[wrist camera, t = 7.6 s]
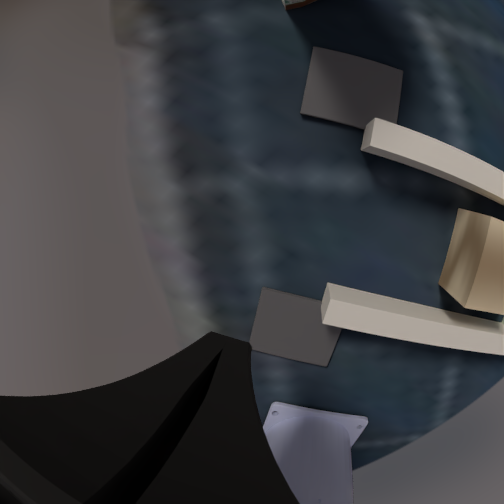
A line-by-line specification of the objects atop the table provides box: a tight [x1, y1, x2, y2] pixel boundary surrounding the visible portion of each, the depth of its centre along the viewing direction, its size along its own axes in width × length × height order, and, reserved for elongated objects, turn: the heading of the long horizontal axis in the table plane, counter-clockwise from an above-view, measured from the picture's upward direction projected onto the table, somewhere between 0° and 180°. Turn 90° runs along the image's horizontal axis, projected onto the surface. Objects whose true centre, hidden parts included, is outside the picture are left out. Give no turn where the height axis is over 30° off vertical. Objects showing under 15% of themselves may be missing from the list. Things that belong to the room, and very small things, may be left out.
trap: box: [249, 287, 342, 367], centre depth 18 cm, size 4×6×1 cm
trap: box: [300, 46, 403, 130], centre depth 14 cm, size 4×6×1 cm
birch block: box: [438, 208, 504, 315], centre depth 13 cm, size 5×5×4 cm
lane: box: [321, 118, 504, 355], centre depth 14 cm, size 11×16×2 cm, turn 78°
